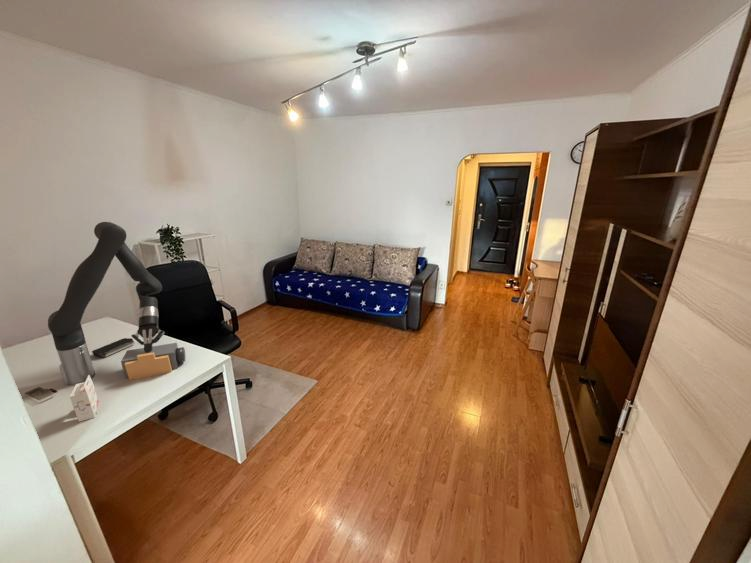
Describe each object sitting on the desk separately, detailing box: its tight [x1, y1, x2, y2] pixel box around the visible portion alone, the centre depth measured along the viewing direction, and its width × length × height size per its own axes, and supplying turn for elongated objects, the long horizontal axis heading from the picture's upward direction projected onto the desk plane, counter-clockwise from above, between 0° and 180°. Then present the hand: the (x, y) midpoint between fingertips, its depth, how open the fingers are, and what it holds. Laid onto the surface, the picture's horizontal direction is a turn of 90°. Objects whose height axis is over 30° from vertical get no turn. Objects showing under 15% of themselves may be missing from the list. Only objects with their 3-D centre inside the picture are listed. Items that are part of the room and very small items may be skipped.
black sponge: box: [91, 337, 135, 358], centre depth 157 cm, size 16×8×4 cm, turn 161°
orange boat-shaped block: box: [125, 352, 173, 381], centre depth 135 cm, size 16×2×12 cm, turn 116°
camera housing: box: [120, 342, 186, 379], centre depth 142 cm, size 23×10×10 cm, turn 116°
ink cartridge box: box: [69, 375, 100, 423], centre depth 113 cm, size 9×5×15 cm, turn 33°
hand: (148, 352), depth 136 cm, fingers closed
